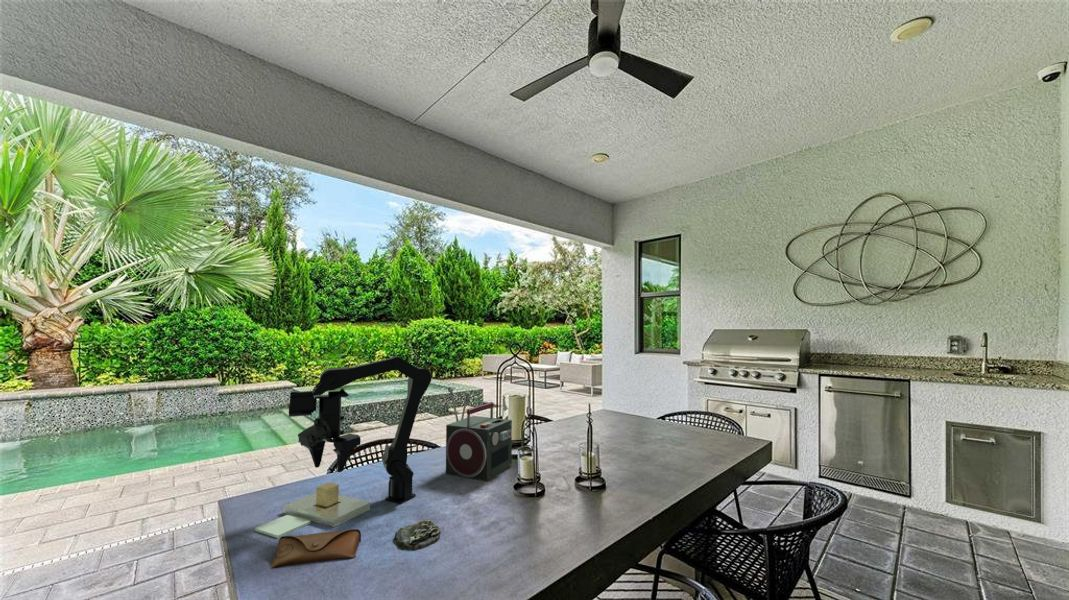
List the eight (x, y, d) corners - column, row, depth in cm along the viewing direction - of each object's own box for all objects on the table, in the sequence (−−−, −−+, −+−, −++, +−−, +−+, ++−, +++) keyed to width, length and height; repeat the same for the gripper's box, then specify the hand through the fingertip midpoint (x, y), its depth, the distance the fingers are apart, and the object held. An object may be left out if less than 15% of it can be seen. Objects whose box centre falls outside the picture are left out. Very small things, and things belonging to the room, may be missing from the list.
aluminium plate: (369, 509, 123) (370, 502, 123) (333, 527, 112) (334, 519, 112) (321, 497, 131) (321, 490, 131) (283, 512, 120) (283, 505, 121)
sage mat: (310, 523, 114) (310, 520, 114) (277, 538, 106) (277, 535, 106) (288, 516, 118) (288, 514, 118) (254, 530, 110) (254, 528, 110)
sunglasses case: (266, 569, 92) (272, 534, 96) (274, 571, 98) (279, 538, 101) (357, 557, 97) (359, 524, 101) (359, 560, 103) (362, 529, 106)
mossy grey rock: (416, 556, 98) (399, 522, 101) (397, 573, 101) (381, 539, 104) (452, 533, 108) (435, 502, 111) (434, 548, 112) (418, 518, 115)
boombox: (490, 482, 144) (490, 391, 146) (439, 473, 153) (440, 387, 155) (515, 466, 160) (515, 384, 162) (468, 459, 169) (469, 381, 171)
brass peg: (338, 509, 122) (338, 484, 123) (325, 515, 119) (326, 489, 119) (328, 507, 124) (328, 482, 125) (315, 512, 121) (316, 487, 121)
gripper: (281, 415, 120) (279, 473, 119) (328, 422, 112) (326, 484, 111) (317, 408, 130) (315, 462, 129) (362, 414, 122) (361, 471, 121)
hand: (328, 469), depth 122 cm, fingers open, 9 cm apart
